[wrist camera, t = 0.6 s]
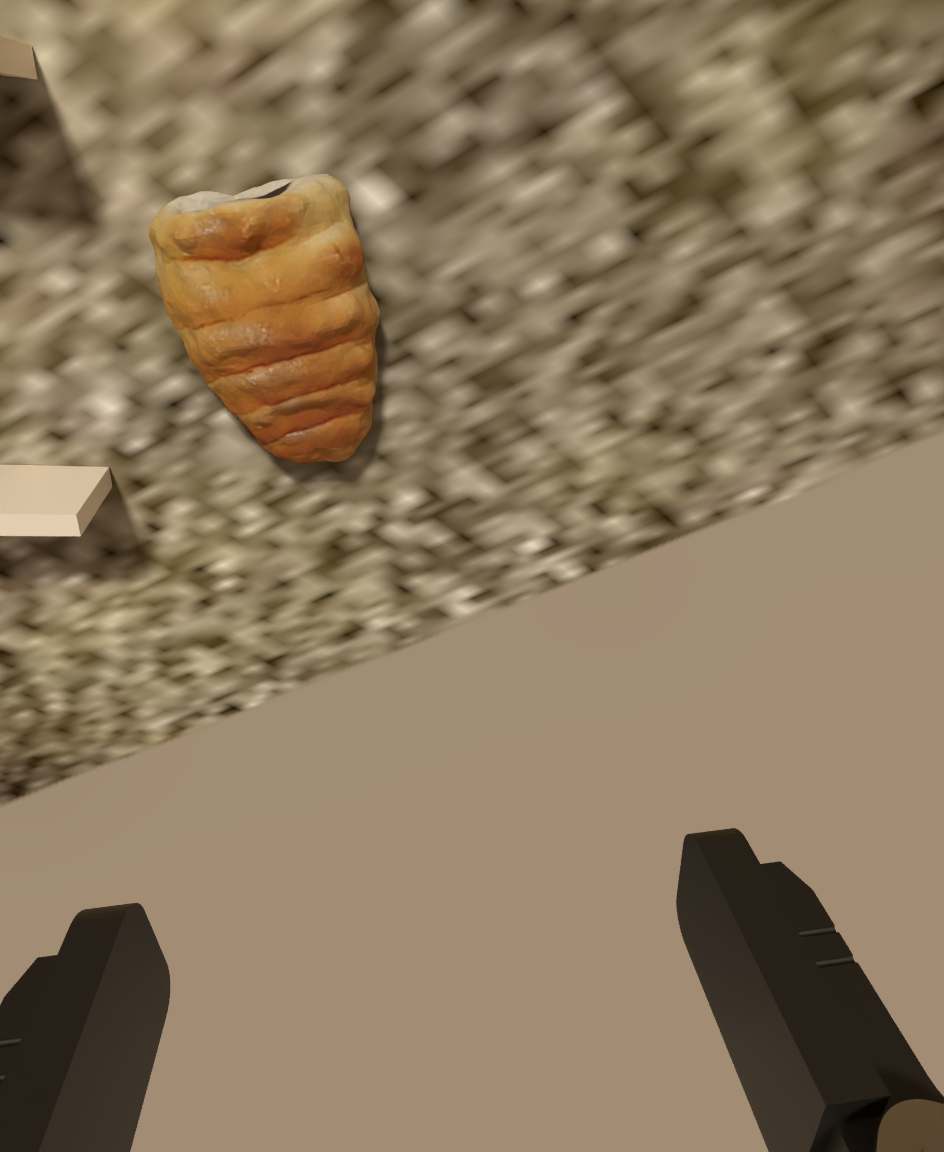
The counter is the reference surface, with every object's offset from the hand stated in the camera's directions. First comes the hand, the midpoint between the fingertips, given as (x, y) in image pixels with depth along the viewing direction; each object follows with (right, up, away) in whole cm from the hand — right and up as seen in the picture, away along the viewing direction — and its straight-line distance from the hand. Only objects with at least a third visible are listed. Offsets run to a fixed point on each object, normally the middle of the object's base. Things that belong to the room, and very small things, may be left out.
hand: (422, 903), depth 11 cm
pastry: (-6, +15, +14) cm, 21 cm away
